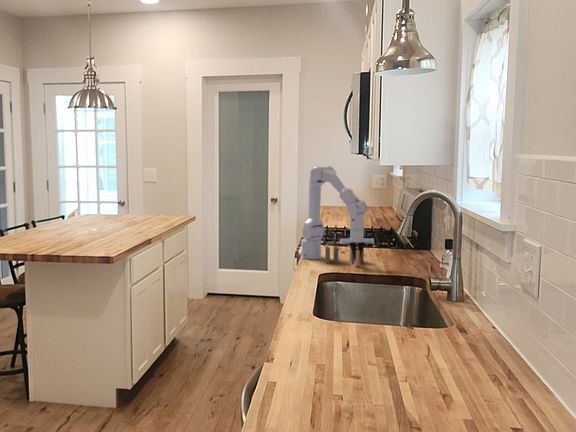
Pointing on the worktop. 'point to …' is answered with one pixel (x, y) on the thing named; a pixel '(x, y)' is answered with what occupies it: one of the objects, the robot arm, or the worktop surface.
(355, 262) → the brick tile
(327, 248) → the charcoal tile
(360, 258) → the charcoal tile
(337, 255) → the charcoal tile
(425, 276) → the worktop surface
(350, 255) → the charcoal tile
